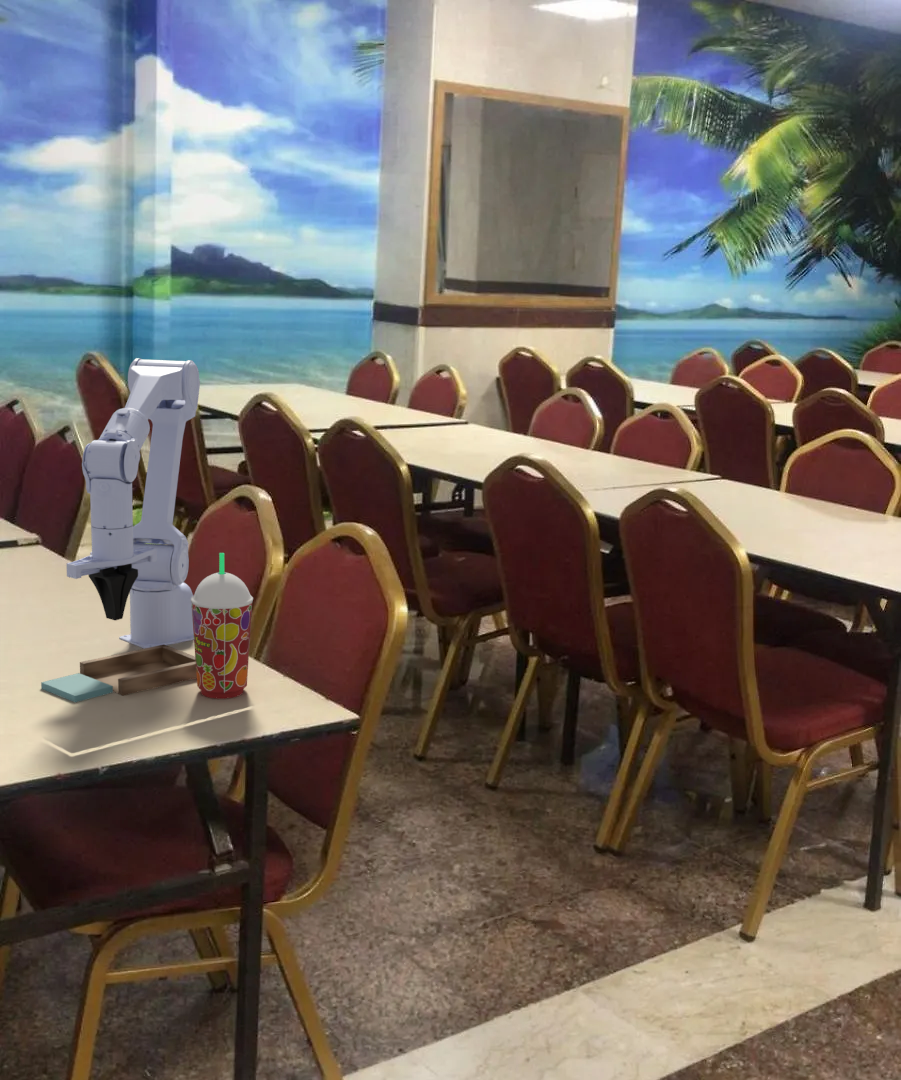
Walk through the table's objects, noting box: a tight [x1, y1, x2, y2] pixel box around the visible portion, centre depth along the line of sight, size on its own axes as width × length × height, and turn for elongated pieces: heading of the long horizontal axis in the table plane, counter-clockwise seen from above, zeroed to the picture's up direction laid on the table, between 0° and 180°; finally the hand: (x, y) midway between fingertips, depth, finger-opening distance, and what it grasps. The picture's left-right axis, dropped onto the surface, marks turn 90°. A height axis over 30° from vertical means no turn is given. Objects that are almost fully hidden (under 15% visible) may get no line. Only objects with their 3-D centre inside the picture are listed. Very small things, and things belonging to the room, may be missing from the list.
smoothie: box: [191, 552, 254, 700], centre depth 182 cm, size 8×8×20 cm
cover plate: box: [40, 672, 114, 703], centre depth 182 cm, size 6×8×2 cm
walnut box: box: [79, 645, 197, 696], centre depth 189 cm, size 14×11×2 cm
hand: (114, 618), depth 190 cm, fingers closed
